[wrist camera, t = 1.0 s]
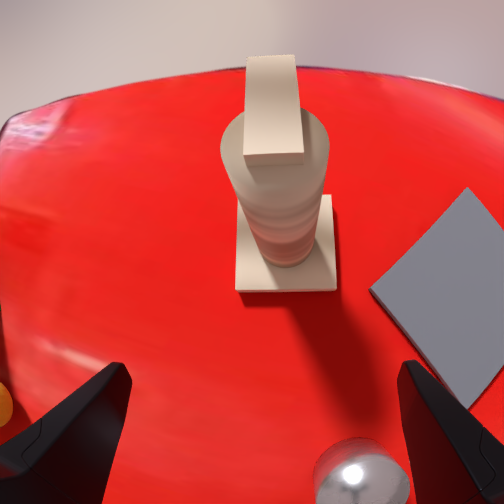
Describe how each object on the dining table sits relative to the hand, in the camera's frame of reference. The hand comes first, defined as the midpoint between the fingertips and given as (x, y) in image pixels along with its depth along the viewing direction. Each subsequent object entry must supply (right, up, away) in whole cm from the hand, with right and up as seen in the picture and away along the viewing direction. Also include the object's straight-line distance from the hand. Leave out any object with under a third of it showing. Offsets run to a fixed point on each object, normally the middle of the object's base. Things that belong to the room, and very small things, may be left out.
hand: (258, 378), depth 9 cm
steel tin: (+7, -13, +9) cm, 17 cm away
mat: (+17, 0, +11) cm, 21 cm away
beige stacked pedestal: (+2, +4, +15) cm, 15 cm away
